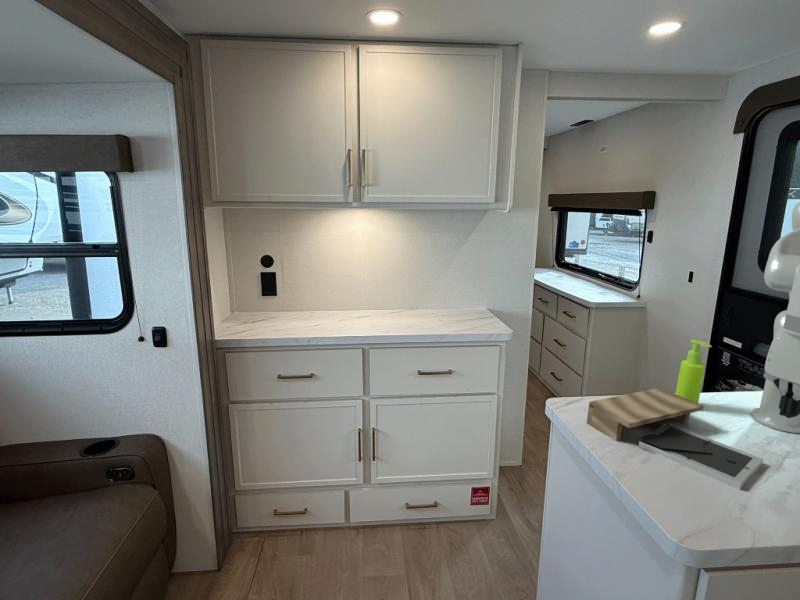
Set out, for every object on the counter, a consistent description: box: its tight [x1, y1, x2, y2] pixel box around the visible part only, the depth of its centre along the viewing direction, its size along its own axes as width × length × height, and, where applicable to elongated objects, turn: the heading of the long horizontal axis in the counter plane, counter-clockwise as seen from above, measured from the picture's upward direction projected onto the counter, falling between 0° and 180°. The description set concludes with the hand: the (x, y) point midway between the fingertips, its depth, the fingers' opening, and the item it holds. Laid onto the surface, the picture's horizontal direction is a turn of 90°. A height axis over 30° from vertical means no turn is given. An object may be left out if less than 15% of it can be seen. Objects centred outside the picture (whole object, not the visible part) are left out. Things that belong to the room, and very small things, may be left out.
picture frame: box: [638, 422, 764, 491], centre depth 108 cm, size 16×3×21 cm
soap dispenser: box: [675, 339, 713, 404], centre depth 131 cm, size 6×7×20 cm
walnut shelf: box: [586, 387, 704, 442], centre depth 121 cm, size 27×12×6 cm, turn 113°
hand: (788, 415), depth 90 cm, fingers closed
